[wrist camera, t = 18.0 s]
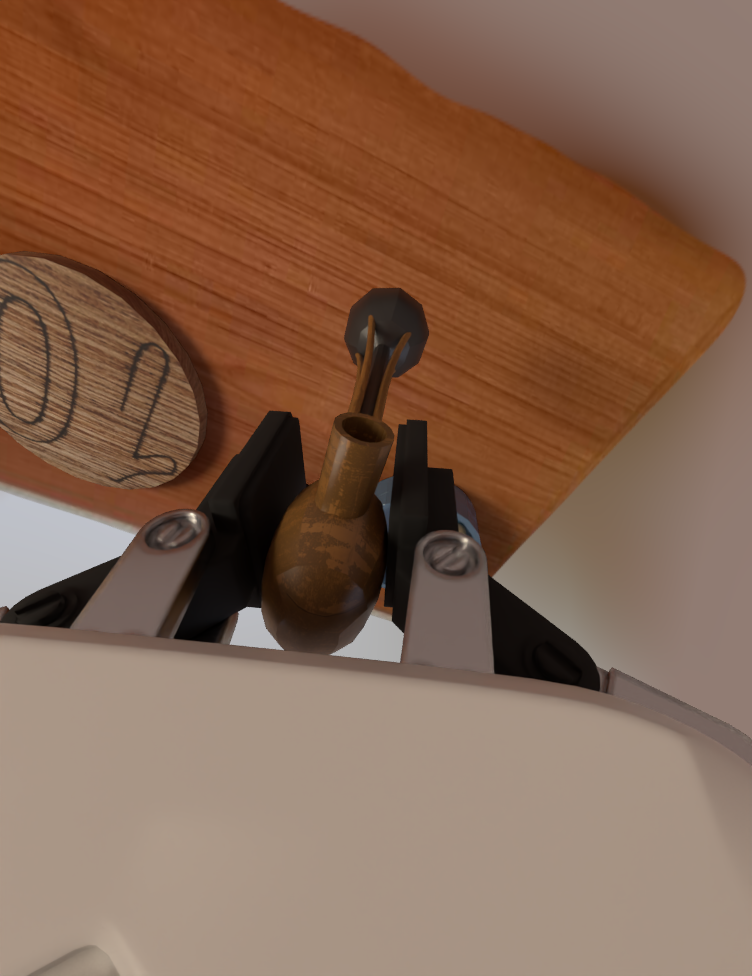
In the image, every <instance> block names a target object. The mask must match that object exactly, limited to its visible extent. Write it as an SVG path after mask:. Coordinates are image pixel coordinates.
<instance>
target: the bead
mask: <svg viewBox="0 0 752 976" xmlns="http://www.w3.org/2000/svg"><path fill="white" fill-rule="evenodd" d="M458 528H459V532H461V533H463V534H465V535H466V530H465V528H464V526H463V525H461V524H459V523H458Z"/></svg>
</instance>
